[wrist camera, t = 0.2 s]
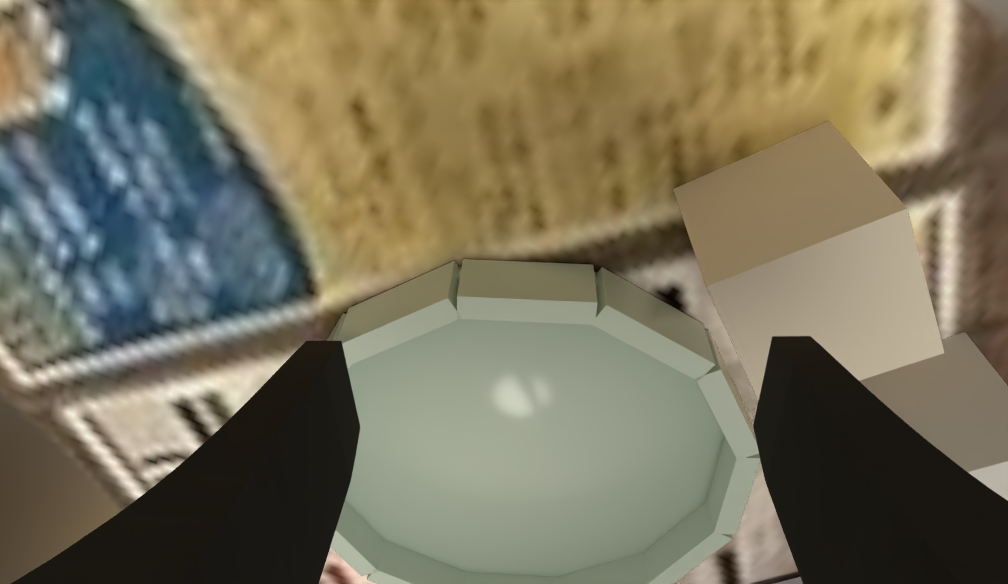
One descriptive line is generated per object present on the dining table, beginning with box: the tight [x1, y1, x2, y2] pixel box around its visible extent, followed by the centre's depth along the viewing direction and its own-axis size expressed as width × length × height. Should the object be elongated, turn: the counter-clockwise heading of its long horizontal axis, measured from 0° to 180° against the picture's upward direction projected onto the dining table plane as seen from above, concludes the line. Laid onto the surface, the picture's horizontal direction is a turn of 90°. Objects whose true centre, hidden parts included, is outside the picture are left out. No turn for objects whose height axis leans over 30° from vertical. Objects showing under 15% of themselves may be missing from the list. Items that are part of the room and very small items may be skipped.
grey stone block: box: [860, 332, 1008, 501], centre depth 23 cm, size 4×4×5 cm
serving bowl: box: [326, 259, 761, 584], centre depth 26 cm, size 16×16×2 cm
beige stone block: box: [673, 121, 944, 400], centre depth 19 cm, size 4×4×5 cm
